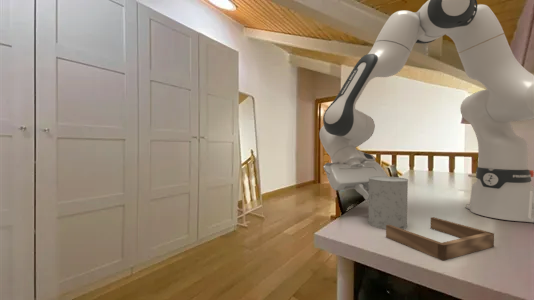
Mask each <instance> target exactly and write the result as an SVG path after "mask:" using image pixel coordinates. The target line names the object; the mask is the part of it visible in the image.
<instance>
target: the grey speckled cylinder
mask: <svg viewBox="0 0 534 300" xmlns="http://www.w3.org/2000/svg"><path fill="white" fill-rule="evenodd" d="M408 182H409V179H407V178H405V177H398V176H397V177H396V176H374V177H369V200H368V221H367V223H368V224H369V225H370V226H372V227H374V228H378V229H382V230H386V225H392V226H395V227H398V228H401V229H404V230H406V229H407V228H408V190H409V189H408V187H409V186H408Z"/></svg>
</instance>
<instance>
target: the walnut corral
mask: <svg viewBox="0 0 534 300" xmlns="http://www.w3.org/2000/svg"><path fill="white" fill-rule="evenodd" d="M431 228H432V229H431ZM430 229H431V230H434V229H435V230H434V231H438V232H440V233H443V234H447V235H450V236H453V237H457V239H453V240H448V241H443V242H440V241H438V240H435V239H431V238H429V237H427V236H423V235H420V234H417V233H414V232H412V231H409V230H406V229H401V228H398V227H395V226H392V225H386V229H385V237H386V238H388V239H390V240H392V241H395V242H397V243H399V244H402V245H405V246H407V247H409V248H412V249H415V250H417V251H419V252H422V253H424V254H426V255H429V256H431V257H434V258H437V259H439V260H441V261H445V260H449V259H453V258H457V257H461V256H465V255H468V254H471V253H477V252H479V251H483V250H486V249H487V250H488V249H491V248H494V247H495V233H494V232H490V231H486V230H482V229H479V228H474V227H471V226H469V225H463V224H461V223H456V222H453V221H450V220H447V219H446V220H445V219H441V218H439V217H435V216H433V217H430Z"/></svg>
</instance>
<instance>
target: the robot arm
mask: <svg viewBox="0 0 534 300" xmlns="http://www.w3.org/2000/svg"><path fill="white" fill-rule="evenodd" d="M503 29H504V28H503V26H502V25H501V23H500V21H499V19H498V18H497V16H496V14H495V13H494V12H493V11H492V9H491V8H490V6H488V5H487V4H481V3H479V4H478V1H477V0H427V1H426V2H425V3H423V4H422V6H421V7H420V8H419V9H418V10H417V11H416V12H413V11H411V10H407V9H406V10H403V9H402V10H397V11H395V12H394V13H392V14H391V15H389V17H388V19H387V20H386V22H385V23H384V24H383V26H382V28H381V30H380V32H378V35H377V37H376V39H375V41H374V43H373V46H372V47H371V49H370V51H369V52H368V53H367V54H364V55H363V56H362V57H360V59H359V60H358V61H357V62H356V64H355V65H354V67H353V69H352V70H351V71H350V72H349V73H350V74H349V75H348V76H347V78H346V80H345V82H344V84H343V85H342V87H341V89H340V90H339V92H338V93H337V95H336V97H335V98H334V100H333V101H332V102H331V103H330V105H329V106H328V107H327V108H326V110H325V111H324V114H323V120H322V121H323V125H322V127H321V128H320V129H319V133H318V134H319V140H320V143H321V145H322V146H323V148H324V151H325V152H326V154H328V156H329V157H330V161H331V162H326V163H324V165H323V170H324V171H325V174H326V178H327V180H328V181H327V182H328V183H329V185H330V187H331V189H333V190H334V191H344V190H355V191H356V192H357V193H358V194H359V195H361V196H362V197H363V199H364V200H366V201H369V177H374V176H388V174H387V172H386V171H385V169H384V168H383V167H382V166H381V164H380V163H379V162H377V161H376V157H375V155H373V154H370V153H366V152H363V151H361V150H360V149H359V150H358V148H357V147H359V146H361V145H363V144H364V143H365V142H366V141H368V140H369V139H370V138H372V136H373V134H374V132H375V129H376V128H375V127H376V125H375V121H374V119H373V118H372V117H371V116H370V115H368V114H366V113H364V112H362V111H360V110H358V109H356V104H357V102H358V100H359V99H360V97H361V96H362V94H363V92H364V90H365V89H366V87H367V85H368V84H369V82H371V80H373V79H375V78H388V77H392V76H395V75H397V74H399V72H401V71H402V69H403V68H404V66H405V65H406V63H407V61H408V60H409V57H410V55H411V53H412V51H413V48H414V45H415V44H418V45H419V44H421V45H422V44H423V45H424V44H429V43H432V42H434V41H436V40H438V39H439V38H441V37H443V36H447V37H449V38H450V39H451V40H452V41H453V43H454V46H455V49H456V51H457V53H458V57H459V59H460V62H461V64H462V67H463V70H464V71H465V74H466V76H467V77H468V78H469V79H472V80H475V81H477V82H479V83H480V84H482V85H483V86H484V87H485V88H486V89H481V90H479V91H476V92H475V93H472V94H469V95H468V96H467V97H465V98H464V99H463V100H462V102H461V104H460V114H461V116H462V117H463V119H464V120H465V121H466V122H468V123H469V124H470V126H471V128H472V129H473V132H474V133H475V137H476V140H477V147H478V149H477V151H478V152H477V153H478V158H477V159H478V163H477V164H478V166H477V167H476V169H475V174H476V175H475V178H476V179H477V180H476V181H475V182H474V183H472V184H471V188H470V189H471V190H470V199H469V204H465V208H466V209H468V210H469V211H470V212H471V213H473V214H476V215H479V216H484V217H486V218H487V217H488V218H491V219H492V218H493V219H497V220H498V219H499V220H505V221H513V222H514V221H515V222H525V223H526V222H527V223H534V186H533V185H532V183H531V182H532V178H533V177H534V170H532V169H529V168H528V166H529V144H528V141H527V140H526V139H525V138H523V137H522V136H520V135H517V133H516V132H515V129H514V128H513V125H512V122H521V121H529V120H530V121H531V120H534V74H533V73H531V72H530V71H529V70H527V69H526V68H525V67H524V66H522V64H521V63H520V62H519V61H518V60H517V58H516V57H515V54H514V53H513V51H512V49H511V47H510V45H509V42H508V38H507V37H506V35H505V31H504V30H503ZM388 177H389V176H388Z"/></svg>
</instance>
